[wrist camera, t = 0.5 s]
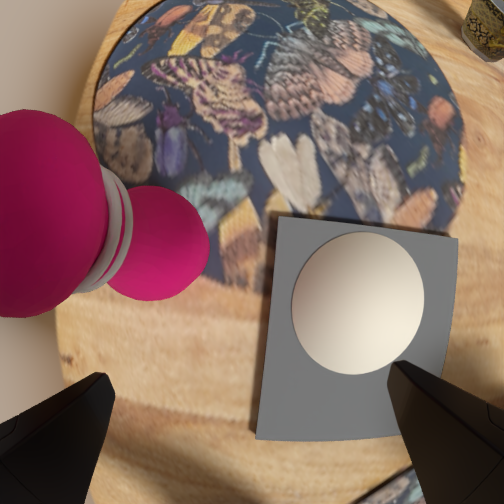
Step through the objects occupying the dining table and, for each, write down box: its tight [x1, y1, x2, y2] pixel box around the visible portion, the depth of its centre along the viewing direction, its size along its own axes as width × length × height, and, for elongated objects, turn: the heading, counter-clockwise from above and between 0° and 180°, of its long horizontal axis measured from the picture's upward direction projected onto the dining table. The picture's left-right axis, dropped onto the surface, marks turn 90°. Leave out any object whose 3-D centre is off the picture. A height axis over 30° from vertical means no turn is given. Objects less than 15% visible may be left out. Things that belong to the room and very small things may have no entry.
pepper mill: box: [0, 109, 210, 318], centre depth 12 cm, size 7×7×20 cm
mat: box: [255, 216, 458, 441], centre depth 21 cm, size 18×16×1 cm
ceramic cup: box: [461, 0, 504, 62], centre depth 17 cm, size 13×10×10 cm
